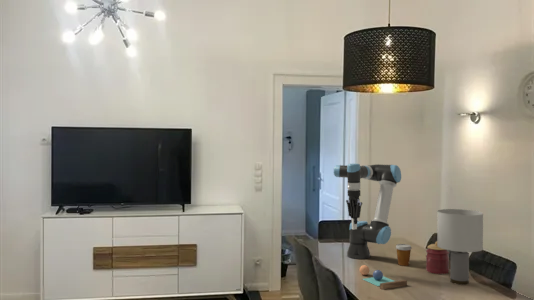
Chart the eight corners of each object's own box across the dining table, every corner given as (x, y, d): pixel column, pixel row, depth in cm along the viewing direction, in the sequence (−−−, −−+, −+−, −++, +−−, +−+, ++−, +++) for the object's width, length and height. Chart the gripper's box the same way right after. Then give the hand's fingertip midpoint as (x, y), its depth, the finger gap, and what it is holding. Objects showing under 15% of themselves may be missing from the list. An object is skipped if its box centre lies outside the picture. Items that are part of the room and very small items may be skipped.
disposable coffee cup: (412, 267, 278) (412, 247, 277) (396, 266, 279) (396, 246, 279) (410, 263, 287) (410, 244, 287) (395, 262, 289) (395, 243, 289)
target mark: (361, 279, 252) (361, 278, 252) (382, 276, 258) (382, 275, 258) (377, 286, 240) (377, 285, 240) (399, 283, 245) (399, 282, 245)
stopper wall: (379, 288, 236) (380, 283, 236) (404, 284, 243) (404, 279, 243) (382, 289, 235) (382, 284, 235) (406, 285, 241) (407, 280, 241)
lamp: (427, 278, 253) (428, 210, 253) (458, 274, 262) (459, 208, 262) (460, 291, 232) (460, 216, 232) (492, 285, 241) (493, 213, 241)
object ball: (373, 268, 250) (378, 276, 246) (381, 267, 252) (386, 274, 248) (369, 275, 253) (374, 283, 249) (377, 274, 255) (382, 281, 251)
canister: (448, 269, 272) (448, 240, 272) (449, 275, 260) (450, 244, 260) (425, 267, 276) (425, 238, 276) (425, 273, 264) (425, 242, 264)
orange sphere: (361, 266, 258) (363, 276, 257) (370, 264, 260) (371, 274, 259) (356, 265, 263) (358, 275, 262) (365, 264, 265) (367, 273, 264)
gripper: (342, 189, 275) (342, 227, 276) (355, 191, 264) (355, 231, 265) (352, 188, 279) (352, 226, 279) (365, 190, 267) (366, 230, 268)
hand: (354, 229), depth 272 cm, fingers closed
